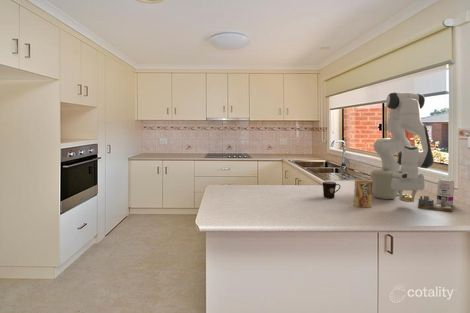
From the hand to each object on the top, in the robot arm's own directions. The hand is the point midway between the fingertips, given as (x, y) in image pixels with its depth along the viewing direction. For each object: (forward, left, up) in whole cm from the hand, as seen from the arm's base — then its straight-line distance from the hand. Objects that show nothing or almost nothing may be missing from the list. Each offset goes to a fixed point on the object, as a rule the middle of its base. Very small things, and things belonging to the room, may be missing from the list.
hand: (406, 197), depth 175 cm
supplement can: (+20, +21, -6) cm, 29 cm away
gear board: (+14, +7, -6) cm, 16 cm away
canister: (-13, +21, -6) cm, 25 cm away
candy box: (-22, -12, -6) cm, 26 cm away
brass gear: (0, 0, -2) cm, 2 cm away
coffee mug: (-43, +2, -6) cm, 43 cm away
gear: (+10, +7, -4) cm, 12 cm away
